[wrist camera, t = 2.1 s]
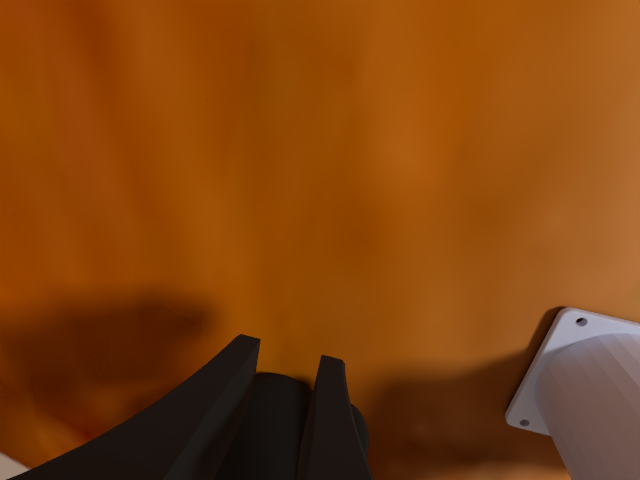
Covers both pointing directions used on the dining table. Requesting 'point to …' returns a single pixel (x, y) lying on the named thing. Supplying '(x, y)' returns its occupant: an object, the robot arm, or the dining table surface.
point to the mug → (274, 431)
